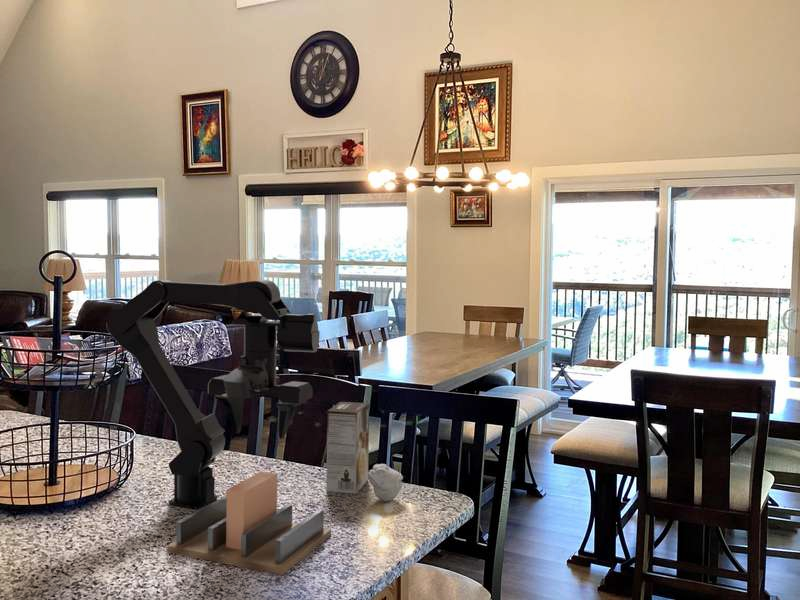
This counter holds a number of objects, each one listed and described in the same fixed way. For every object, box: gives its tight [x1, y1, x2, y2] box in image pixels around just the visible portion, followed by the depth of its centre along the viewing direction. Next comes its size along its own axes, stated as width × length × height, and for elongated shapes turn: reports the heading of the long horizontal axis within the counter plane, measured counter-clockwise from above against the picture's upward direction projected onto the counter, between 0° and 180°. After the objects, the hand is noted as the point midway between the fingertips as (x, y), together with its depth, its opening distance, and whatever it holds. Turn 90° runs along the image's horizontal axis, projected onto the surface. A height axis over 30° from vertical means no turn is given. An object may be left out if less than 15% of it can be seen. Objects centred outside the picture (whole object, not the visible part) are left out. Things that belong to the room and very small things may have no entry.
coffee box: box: [325, 401, 370, 495], centre depth 143 cm, size 9×6×16 cm
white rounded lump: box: [367, 463, 404, 502], centre depth 135 cm, size 6×7×7 cm
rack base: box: [166, 522, 332, 576], centre depth 114 cm, size 20×16×1 cm
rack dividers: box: [175, 494, 325, 564], centre depth 114 cm, size 18×14×4 cm
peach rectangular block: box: [226, 471, 278, 550], centre depth 114 cm, size 3×10×9 cm, turn 160°
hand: (259, 435), depth 130 cm, fingers open, 9 cm apart
